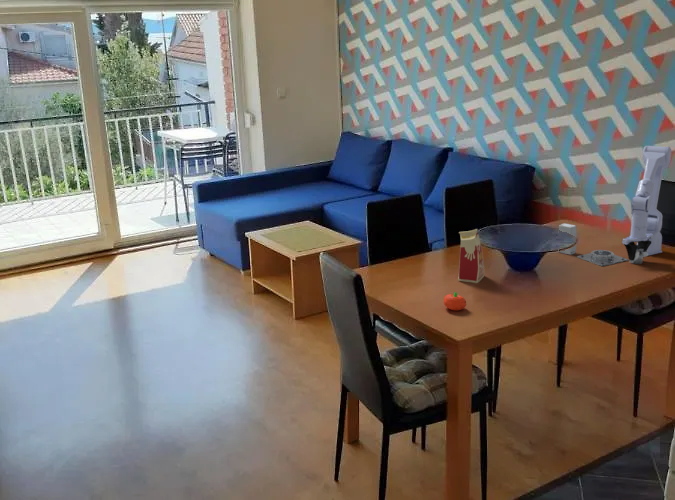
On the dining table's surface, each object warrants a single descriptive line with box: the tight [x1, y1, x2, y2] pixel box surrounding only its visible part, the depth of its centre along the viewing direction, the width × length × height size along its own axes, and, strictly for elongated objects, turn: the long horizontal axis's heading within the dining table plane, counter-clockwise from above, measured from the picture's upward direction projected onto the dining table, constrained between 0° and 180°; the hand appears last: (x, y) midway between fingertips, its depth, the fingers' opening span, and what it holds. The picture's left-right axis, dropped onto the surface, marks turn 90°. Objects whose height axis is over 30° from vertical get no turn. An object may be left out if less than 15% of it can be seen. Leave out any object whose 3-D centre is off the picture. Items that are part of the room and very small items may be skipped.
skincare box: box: [558, 222, 578, 256], centre depth 299 cm, size 6×4×12 cm
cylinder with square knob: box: [628, 246, 648, 265], centre depth 283 cm, size 5×7×6 cm
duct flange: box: [576, 249, 629, 267], centre depth 290 cm, size 14×14×2 cm
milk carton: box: [457, 228, 485, 284], centre depth 272 cm, size 9×9×20 cm
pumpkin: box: [443, 291, 467, 311], centre depth 245 cm, size 7×8×6 cm
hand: (636, 258), depth 285 cm, fingers closed on cylinder with square knob, 5 cm apart
